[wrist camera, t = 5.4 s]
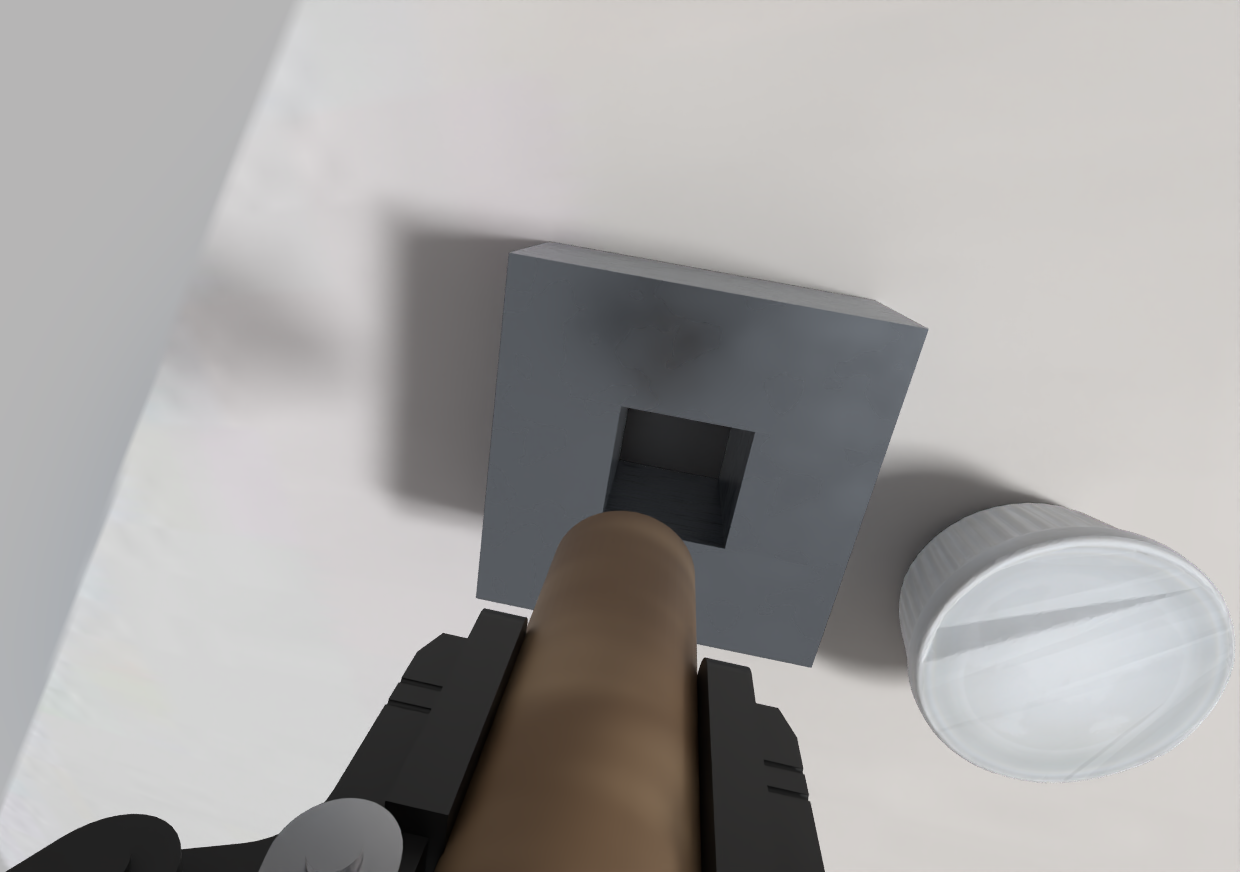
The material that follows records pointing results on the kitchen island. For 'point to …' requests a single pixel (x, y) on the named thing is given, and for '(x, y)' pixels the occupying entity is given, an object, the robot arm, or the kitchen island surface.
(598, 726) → the walnut peg
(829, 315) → the hole block
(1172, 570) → the ramekin
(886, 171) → the kitchen island surface
